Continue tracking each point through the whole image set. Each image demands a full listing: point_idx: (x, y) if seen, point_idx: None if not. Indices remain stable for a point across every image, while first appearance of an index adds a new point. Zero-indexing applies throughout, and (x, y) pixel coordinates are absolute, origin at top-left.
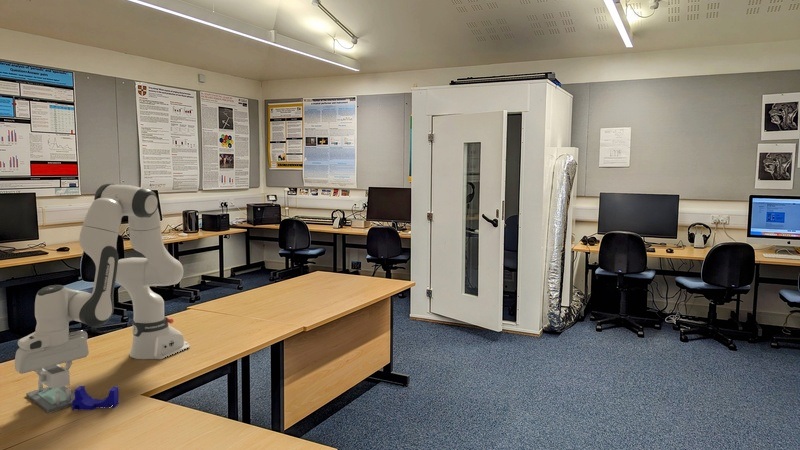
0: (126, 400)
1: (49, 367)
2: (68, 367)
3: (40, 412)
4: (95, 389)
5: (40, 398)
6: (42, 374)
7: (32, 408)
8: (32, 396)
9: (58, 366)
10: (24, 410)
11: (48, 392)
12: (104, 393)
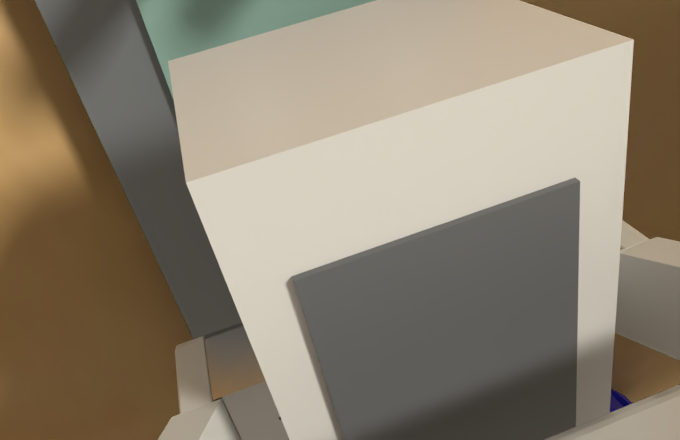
0: (675, 371)
1: (423, 322)
2: (671, 349)
3: (166, 363)
4: (648, 97)
5: (169, 149)
6: (246, 390)
7: (91, 264)
8: (69, 35)
9: (575, 328)
10: (14, 279)
11: (265, 29)
12: (651, 215)
